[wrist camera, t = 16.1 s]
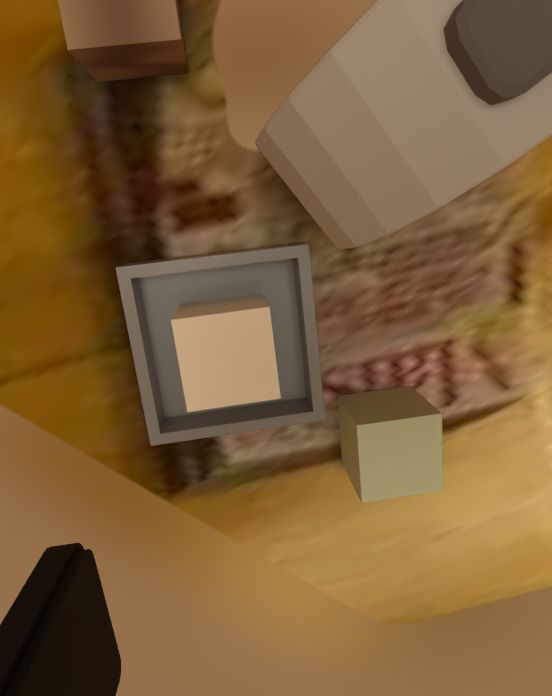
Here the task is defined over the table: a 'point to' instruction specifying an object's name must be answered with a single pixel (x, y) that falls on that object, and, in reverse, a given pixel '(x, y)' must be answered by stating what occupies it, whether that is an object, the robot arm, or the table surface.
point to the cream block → (226, 352)
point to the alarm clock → (413, 111)
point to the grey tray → (210, 284)
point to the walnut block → (125, 37)
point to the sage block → (391, 443)
